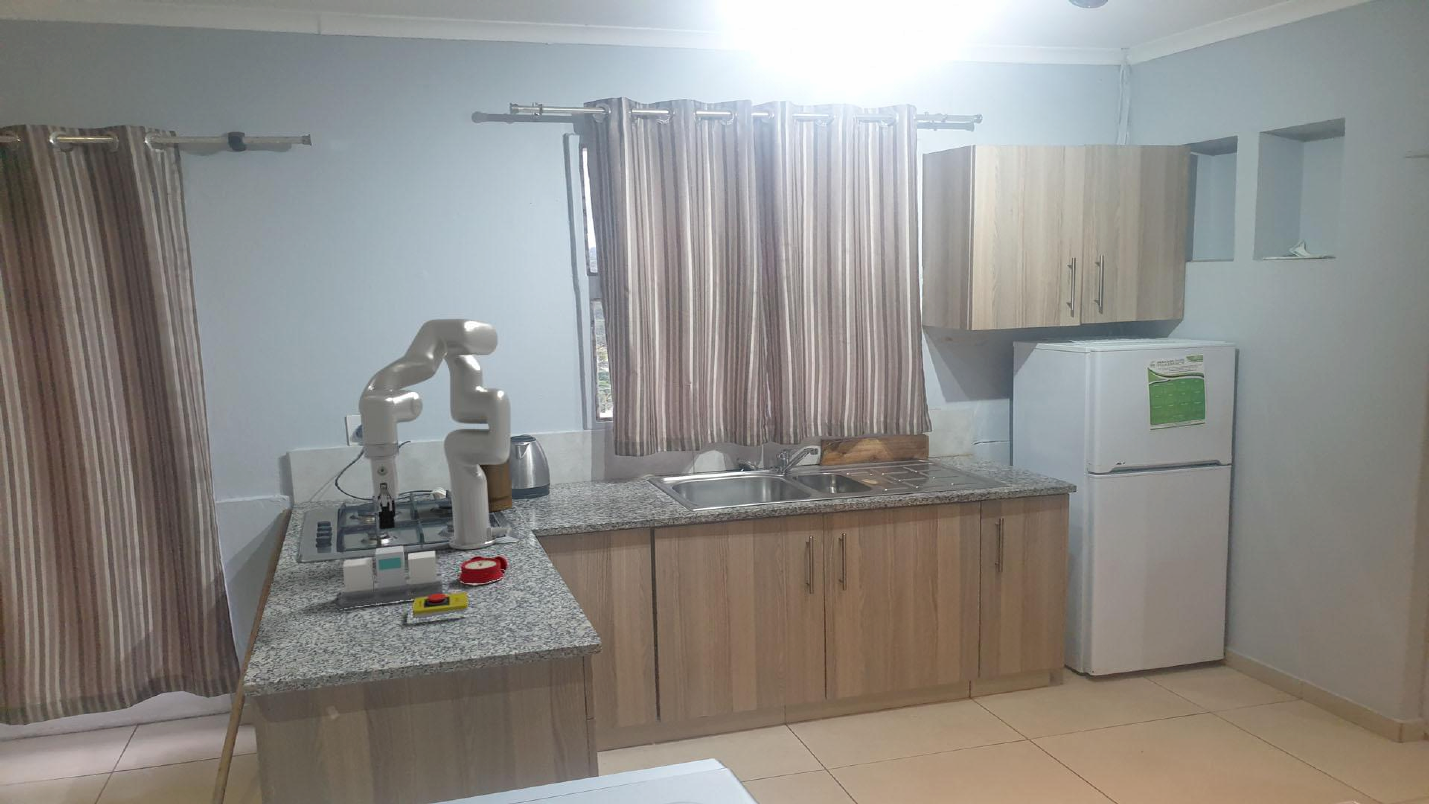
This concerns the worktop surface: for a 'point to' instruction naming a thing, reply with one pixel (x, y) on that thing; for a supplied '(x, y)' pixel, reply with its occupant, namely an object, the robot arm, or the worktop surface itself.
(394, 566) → the block
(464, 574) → the alarm clock
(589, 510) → the worktop surface
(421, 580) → the mounted modules
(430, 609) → the emergency button
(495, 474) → the wooden container
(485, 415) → the robot arm
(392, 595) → the board
